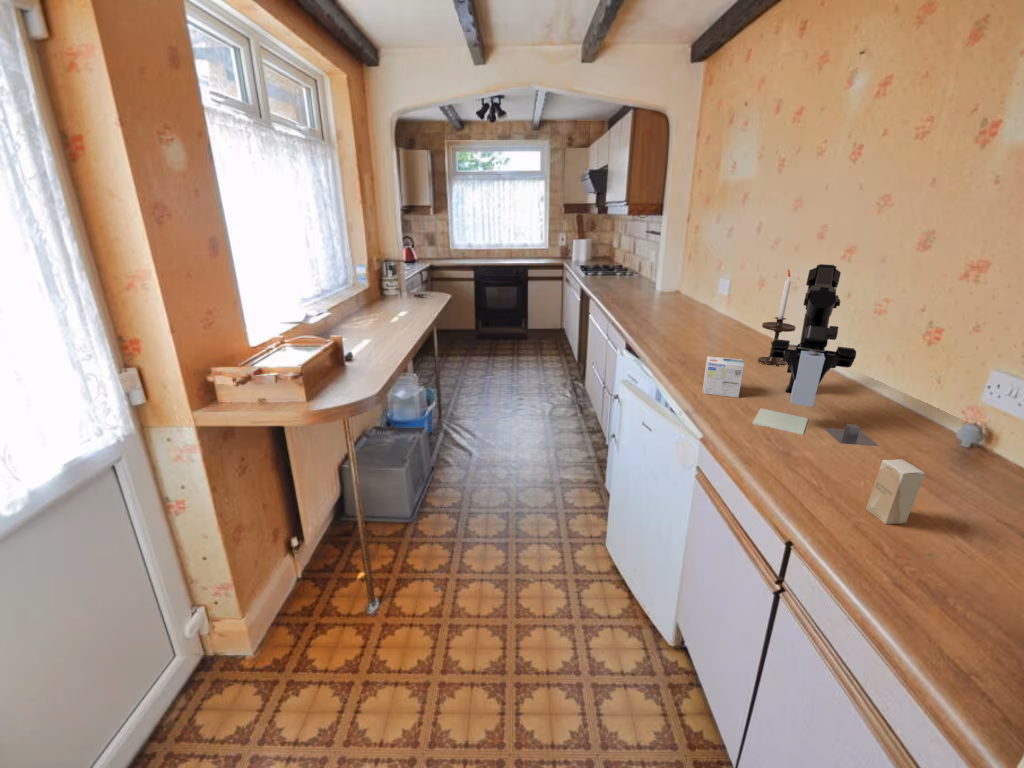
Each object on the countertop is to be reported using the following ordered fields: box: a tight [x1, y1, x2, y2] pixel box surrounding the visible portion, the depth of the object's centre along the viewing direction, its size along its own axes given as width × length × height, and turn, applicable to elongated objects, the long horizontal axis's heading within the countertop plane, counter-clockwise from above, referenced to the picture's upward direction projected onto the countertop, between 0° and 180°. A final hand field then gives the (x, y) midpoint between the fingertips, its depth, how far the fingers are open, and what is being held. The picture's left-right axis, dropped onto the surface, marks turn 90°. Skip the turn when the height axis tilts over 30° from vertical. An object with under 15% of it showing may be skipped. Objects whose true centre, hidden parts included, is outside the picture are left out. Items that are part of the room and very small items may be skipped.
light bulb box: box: [702, 355, 745, 398], centre depth 152 cm, size 11×7×11 cm, turn 71°
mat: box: [751, 407, 809, 436], centre depth 132 cm, size 12×12×1 cm
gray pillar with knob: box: [790, 350, 825, 408], centre depth 125 cm, size 5×5×14 cm
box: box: [865, 458, 926, 525], centre depth 91 cm, size 5×4×11 cm
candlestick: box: [757, 268, 797, 367], centre depth 178 cm, size 11×11×35 cm
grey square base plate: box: [823, 423, 880, 447], centre depth 123 cm, size 9×9×3 cm
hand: (806, 381), depth 124 cm, fingers closed on gray pillar with knob, 5 cm apart
